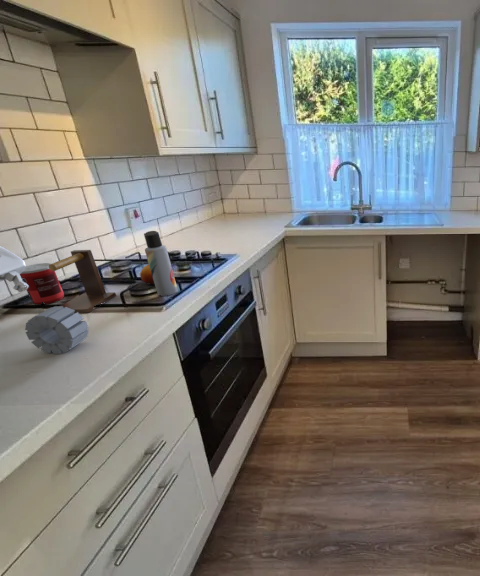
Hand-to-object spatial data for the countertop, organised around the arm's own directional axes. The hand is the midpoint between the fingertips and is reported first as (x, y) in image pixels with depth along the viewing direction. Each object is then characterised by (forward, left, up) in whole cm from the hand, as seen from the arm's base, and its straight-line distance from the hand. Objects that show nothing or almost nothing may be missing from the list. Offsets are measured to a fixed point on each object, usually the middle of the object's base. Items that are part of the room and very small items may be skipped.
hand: (5, 297), depth 80 cm
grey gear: (+7, -1, -14) cm, 16 cm away
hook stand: (+1, +27, -14) cm, 30 cm away
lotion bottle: (+23, +28, -14) cm, 39 cm away
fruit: (+17, +40, -14) cm, 46 cm away
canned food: (-12, +35, -14) cm, 39 cm away
